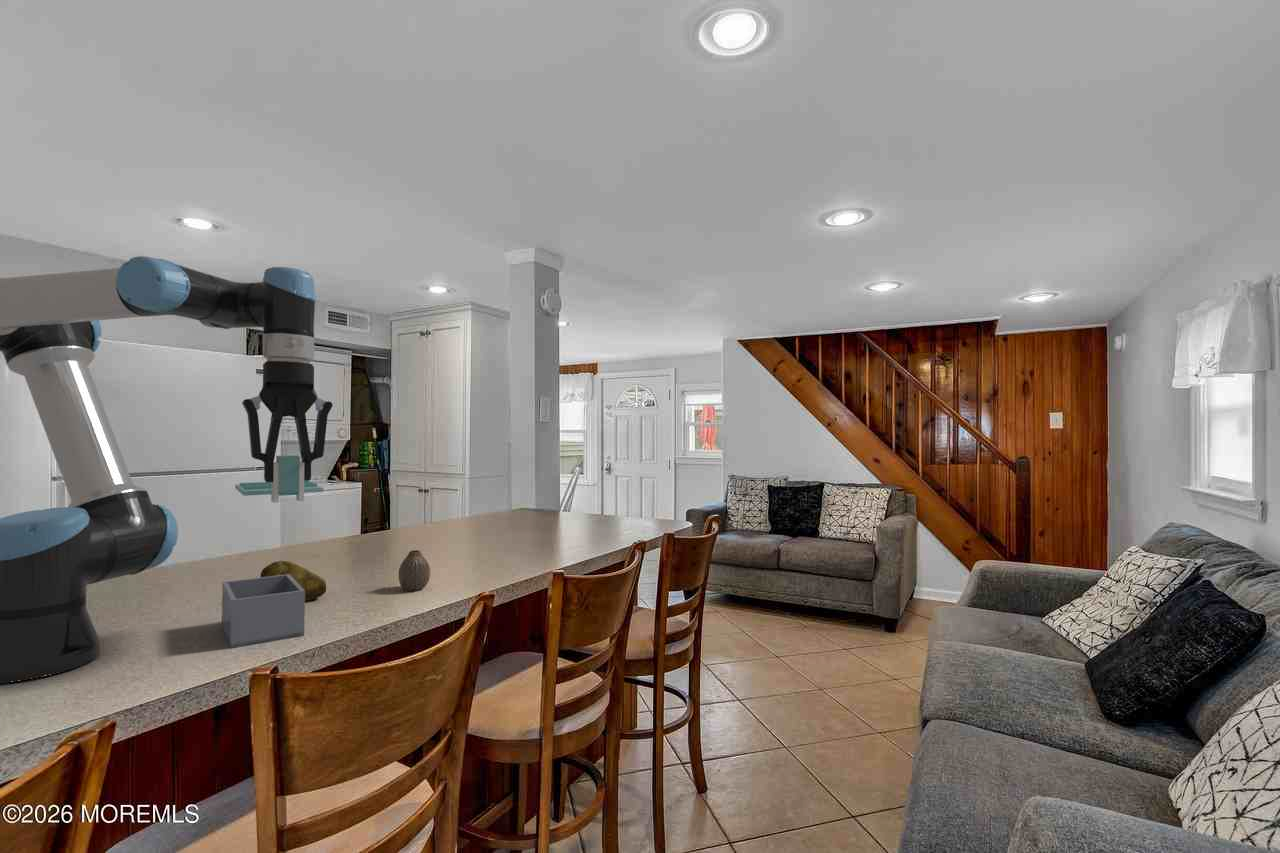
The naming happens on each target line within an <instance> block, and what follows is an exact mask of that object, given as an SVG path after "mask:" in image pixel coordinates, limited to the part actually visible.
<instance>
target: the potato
mask: <svg viewBox="0 0 1280 853" xmlns="http://www.w3.org/2000/svg"><path fill="white" fill-rule="evenodd" d="M287 574H290V575H291V576H292V577H293V578H294V580H295V581H296V582H297V583H298V584H299V585H300V586H301V587H302V588H303V589H304V590H305V602H306V601H311V600H317V599H318V598H320V597H322V596H323V595H324V594H325V593H326V592H327V583H326V581H325V579H324V578H323V577H321V576H319V575H318V574H316V573H314V572H312V571H310V570H308V569H306V568H304V567H303V566H300V565H298V564H296V563H294V562H292V561H287V560H279V561H273V562H271V563H270V564H268V565H266V566H265V567H263V569H262V570H261V572H260V577H259V578H261V577H270V576H278V575H287Z"/></svg>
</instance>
